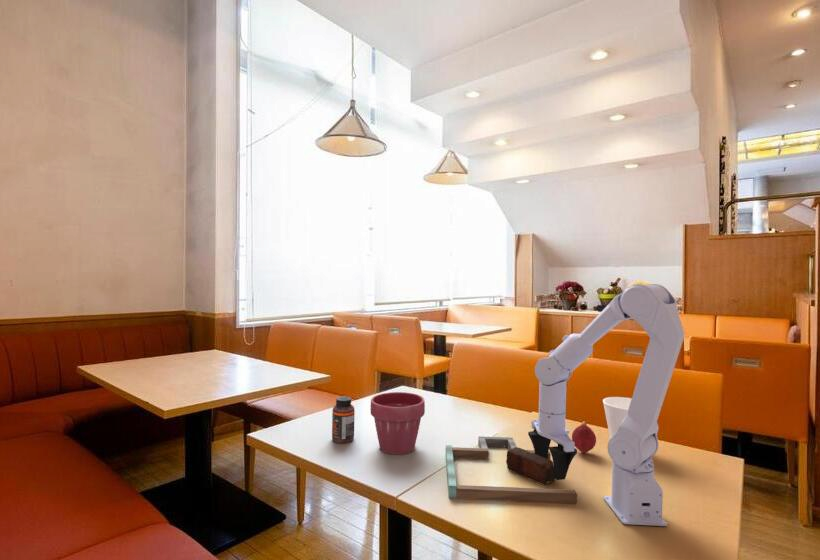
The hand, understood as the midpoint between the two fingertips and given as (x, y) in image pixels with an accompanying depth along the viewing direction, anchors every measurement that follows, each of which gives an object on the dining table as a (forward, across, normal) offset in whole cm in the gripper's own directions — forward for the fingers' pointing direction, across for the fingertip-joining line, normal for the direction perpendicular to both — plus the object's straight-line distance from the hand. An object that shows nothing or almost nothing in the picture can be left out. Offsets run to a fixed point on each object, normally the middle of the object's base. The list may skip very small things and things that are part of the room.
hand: (550, 471), depth 97 cm
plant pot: (+2, +23, +30) cm, 38 cm away
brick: (+2, +2, +4) cm, 5 cm away
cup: (+2, +11, -28) cm, 30 cm away
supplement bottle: (+2, +31, +44) cm, 54 cm away
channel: (+2, +7, +9) cm, 11 cm away
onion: (+2, +11, -16) cm, 19 cm away
